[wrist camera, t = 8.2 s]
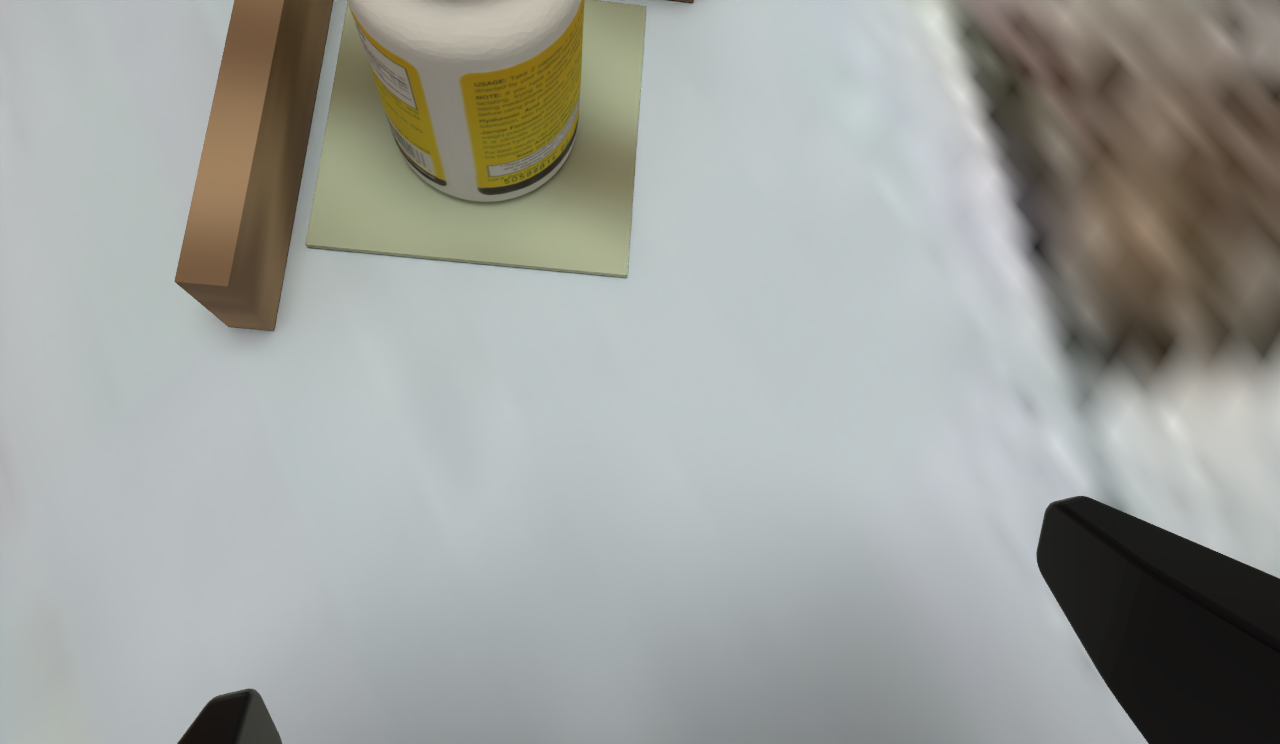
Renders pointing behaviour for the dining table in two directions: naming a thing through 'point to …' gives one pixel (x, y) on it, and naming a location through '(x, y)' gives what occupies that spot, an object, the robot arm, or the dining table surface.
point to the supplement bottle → (477, 88)
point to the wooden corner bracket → (389, 166)
